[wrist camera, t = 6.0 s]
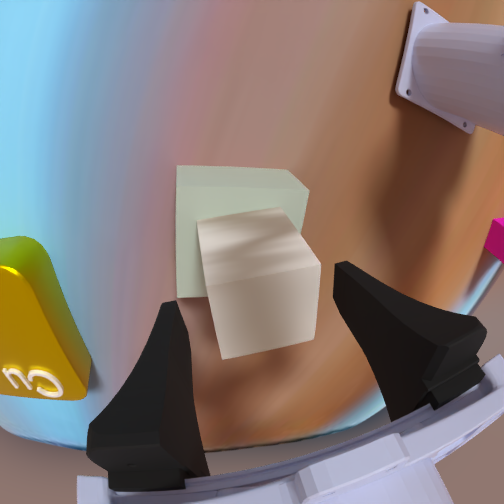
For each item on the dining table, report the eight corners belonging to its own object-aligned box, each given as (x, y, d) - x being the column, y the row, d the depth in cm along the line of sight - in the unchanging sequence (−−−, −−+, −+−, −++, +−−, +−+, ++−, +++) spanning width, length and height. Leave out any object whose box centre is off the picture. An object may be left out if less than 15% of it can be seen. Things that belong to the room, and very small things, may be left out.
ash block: (280, 206, 16) (321, 264, 12) (281, 273, 19) (313, 339, 14) (196, 220, 16) (206, 286, 11) (209, 287, 18) (222, 359, 14)
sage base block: (286, 168, 20) (309, 190, 16) (271, 259, 23) (287, 292, 20) (176, 164, 18) (176, 186, 15) (175, 261, 21) (177, 297, 18)
